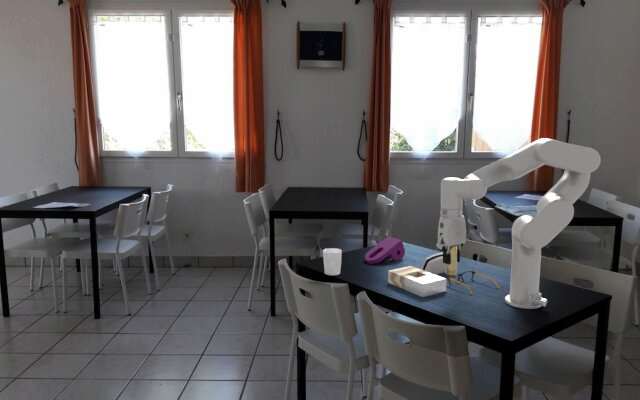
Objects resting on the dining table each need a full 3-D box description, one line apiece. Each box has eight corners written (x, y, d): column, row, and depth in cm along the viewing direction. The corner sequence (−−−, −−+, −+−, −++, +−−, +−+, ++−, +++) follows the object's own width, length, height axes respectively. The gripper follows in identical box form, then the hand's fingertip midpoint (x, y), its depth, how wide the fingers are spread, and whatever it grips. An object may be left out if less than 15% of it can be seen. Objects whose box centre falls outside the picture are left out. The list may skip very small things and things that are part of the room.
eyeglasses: (472, 279, 214) (472, 270, 213) (499, 289, 202) (500, 279, 201) (445, 285, 207) (446, 275, 207) (472, 296, 195) (473, 285, 194)
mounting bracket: (379, 277, 236) (407, 254, 243) (373, 262, 232) (401, 240, 240) (366, 271, 243) (393, 250, 251) (360, 257, 240) (388, 236, 248)
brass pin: (459, 273, 187) (459, 241, 186) (451, 276, 185) (451, 243, 183) (451, 271, 191) (451, 239, 189) (443, 273, 189) (443, 241, 187)
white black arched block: (445, 267, 229) (451, 248, 224) (452, 273, 225) (459, 254, 221) (416, 273, 220) (422, 254, 216) (423, 280, 217) (429, 260, 212)
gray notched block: (446, 291, 199) (446, 278, 198) (422, 297, 193) (423, 284, 192) (427, 284, 207) (428, 271, 206) (404, 289, 201) (404, 277, 200)
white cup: (344, 274, 220) (344, 251, 218) (327, 277, 217) (327, 253, 216) (337, 269, 227) (337, 247, 226) (320, 271, 225) (320, 249, 223)
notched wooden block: (427, 284, 207) (428, 271, 206) (404, 289, 201) (404, 277, 200) (410, 277, 216) (411, 265, 215) (388, 282, 209) (388, 270, 209)
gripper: (442, 217, 177) (442, 269, 180) (476, 211, 186) (475, 260, 189) (426, 214, 183) (426, 264, 186) (460, 208, 192) (459, 256, 195)
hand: (451, 262), depth 187 cm, fingers closed on brass pin, 4 cm apart
